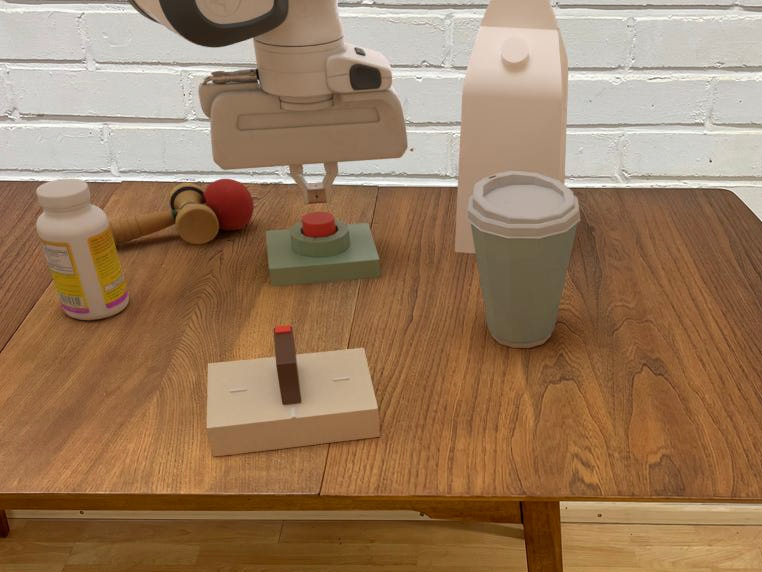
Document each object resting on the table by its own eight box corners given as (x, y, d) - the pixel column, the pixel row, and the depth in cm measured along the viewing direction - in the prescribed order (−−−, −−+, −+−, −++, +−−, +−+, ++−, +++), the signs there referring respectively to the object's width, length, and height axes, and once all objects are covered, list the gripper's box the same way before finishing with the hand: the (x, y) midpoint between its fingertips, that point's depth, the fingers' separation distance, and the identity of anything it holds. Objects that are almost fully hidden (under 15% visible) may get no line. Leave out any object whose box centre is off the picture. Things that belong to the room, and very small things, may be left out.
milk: (563, 219, 112) (581, -12, 96) (556, 259, 103) (574, 12, 87) (469, 213, 113) (470, -17, 97) (454, 252, 104) (453, 6, 88)
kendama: (114, 275, 102) (266, 229, 106) (91, 220, 98) (248, 175, 102) (111, 258, 108) (254, 215, 112) (89, 207, 104) (237, 165, 109)
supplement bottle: (128, 288, 97) (97, 170, 88) (133, 316, 92) (101, 195, 84) (62, 298, 95) (24, 179, 86) (64, 327, 90) (24, 204, 82)
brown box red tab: (301, 402, 75) (295, 359, 72) (282, 405, 75) (275, 361, 72) (297, 365, 79) (291, 323, 77) (279, 367, 79) (272, 325, 76)
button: (304, 240, 98) (302, 225, 97) (302, 227, 101) (300, 212, 100) (337, 238, 99) (335, 223, 98) (334, 224, 101) (332, 210, 100)
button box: (271, 287, 97) (266, 253, 95) (267, 248, 105) (263, 215, 102) (380, 277, 99) (378, 244, 97) (369, 239, 107) (367, 207, 104)
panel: (212, 457, 74) (205, 427, 72) (213, 390, 82) (207, 361, 80) (380, 437, 76) (378, 407, 74) (366, 374, 84) (363, 345, 82)
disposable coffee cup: (592, 335, 90) (608, 191, 80) (517, 374, 84) (524, 223, 75) (518, 298, 96) (524, 159, 86) (443, 332, 90) (441, 187, 81)
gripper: (193, 81, 84) (219, 220, 93) (407, 70, 88) (412, 205, 97) (195, 63, 89) (219, 197, 98) (397, 53, 93) (403, 184, 101)
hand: (317, 201), depth 97 cm, fingers closed
